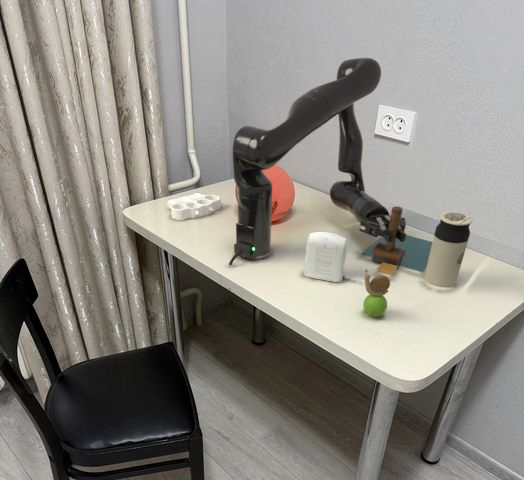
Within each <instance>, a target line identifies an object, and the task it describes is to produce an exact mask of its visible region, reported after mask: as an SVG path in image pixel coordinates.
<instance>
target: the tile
mask: <svg viewBox="0 0 524 480" xmlns="http://www.w3.org/2000/svg"><path fill="white" fill-rule="evenodd" d="M432 242H433V241H431V240H427V239H424V238H419V237H416V236H412V235H408V234H406V238H405V241H404V242H401V241H400V240H399V239H396V244H395V247H396V248H400V249H404V250H406V251H405V255H404V256H403V258H402V262H401V263H400V264H399V265H398V267H402V268H406V269H409V270H412V271H416V272H420V273H425V271H426V267H427V263H428V259H429V255H430V251H431V246H432ZM378 243H382V244H385V243H386V240H385V239H384V238H381V237H379V238H378V239H377V240H376V241H374V242H373V243H372V244H370V246H369V247H367V248H366V249H365V250H364V251H363V252H362V253H361V255H363V256H366V257H369V258H371V259H373V254H372V251H373V248H374V247H375V246H376V245H377V244H378Z"/></svg>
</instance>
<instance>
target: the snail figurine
mask: <svg viewBox="0 0 524 480" xmlns="http://www.w3.org/2000/svg"><path fill="white" fill-rule="evenodd" d="M364 272H365V273H364V275H363V279H364V288H365V291H366V293H368V295H367V296H366V297H365V298H364V300H363V304H362V306H363V310H364V312H365V313H366V314H367V315H368V316H370V317H379V316H381V315H383V314H385V312H386V310H387V309H388V300H387V298H386V297H385V295H386V294H387V293H389V290H388V289H390V286H391V280H390V278H389V277H388V276H387V275H385V274H384V275H383V274H379V275H376V276H375V277H373V278H371V274H370V273H369V269H367V268H364ZM370 279H371V280H370Z"/></svg>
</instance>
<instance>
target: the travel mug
mask: <svg viewBox="0 0 524 480" xmlns="http://www.w3.org/2000/svg"><path fill="white" fill-rule="evenodd" d="M439 219H440V220H439V223H438V224H437V225H436V226H435V231H434V235H433V238H432V241H431V242H432V246H431V251H430V255H429V259H428V263H427V267H426V269H425V270H424V275H423V279H424V281H425V282H426V283H427V284H429V285H430V286H434V287H438V288H450V287H451V288H452V287H454V286H455V285H456V284H457V280H458V276H459V274H460V270H461V266H462V263H463V259H464V256H465V252H466V249H467V245H468V242H469V238H470V235H471V229H470V226H471V224H472V223H473V218H472V217H471V216H470V215H468V214H467V213H463V212H459V211H444V212H442V213H441V214H439Z"/></svg>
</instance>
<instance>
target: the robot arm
mask: <svg viewBox="0 0 524 480" xmlns="http://www.w3.org/2000/svg"><path fill="white" fill-rule="evenodd" d="M381 68H382V67H381V65H380V63H379V62H378V61H377V60H376V59H374V58H371V57H359V58H358V57H357V58H349V59H346V60H343V61H342V62H341V63H340V65H339V66H338V69H337V72H336V79H335V80H333V81H329V82H326V83H322V84H320V85H317V86H315V87H313V88H311V89H310V90H308V91H306V92H305V93H303V94H302V95H300V96H299V97H298V98H296V99H295V100H294V101H293V102H292V104H291V106H290V108H289V110H288V113H287V118H286V119H285V120H284V121H283V122H281V124H278V125H277V126H276V127H274V128H272V129H264V128H260V127H256V126H251V125H244V126H241V127H240V128H239V129H238V130H237V131H236V133H235V136H234V138H233V141H232V166H233V179H234V183H235V186H236V189H237V191H236V192H237V222H236V223H235V241H236V243H234V244H233V245H234V246H233V253H234V255H233V257H232V258H230V260H229V262H228V265H229V266H232V265H233V263H234V261H235V260H236V258H237V257H242V258H245V259H248V260H250V261H253V262H254V261H255V260H256V261H257V260H261V259H265V258H268V257H269V256H270V255H271V254H272V217H273V216H272V213H273V183H272V181H271V179H269V178H268V177H267V176H266V174H265V173H264V171H267V170H269V169H271V168H273V167H274V166H275V165H276V164H278V163H279V162H280V161H281V160H282V159H283V158H284V157H285V156H286V155H288V153H289V152H290V151H291V150H293V149H294V148H295V147H296V146H298V144H300V143H301V142H302V141H304V140H305V139H307V137H309V136H310V135H312V134H313V133H314V132H316V131H318V130H319V129H320V128H322V127H323V126H324V125H326V124H327V123H328V122H329V121H330V120H332V119H333V118H335V117H336V116H337V115H338V126H339V127H338V128H339V142H338V143H339V145H338V157H337V170H338V171H339V172H340V173H344V174H348V175H349V176H350V180H338V181H335V182H334V183H333V184H332V185H331V187H330V189H329V198H330V200H331V203H332V204H333V205H334V206H336V207H338V208H340V209H342V210H344V211H347V212H349V213H350V214H351V215H352V216H353V217H354V218H355V220H356V221H357V222H358V223H359V229H358V231H359V232H361V233H363V234H364V235H365V234H366V235H367V236H370V237H372V238H378V237H379V238H384V239H385V240H386V241H388V242H389V243H393V241H394V234H392V233H391V232H390V231H389V230H388V228H389V222H390V217H391V214H390V212H389V211H388V209H387V208H386V207H385V206H384V205H382V204H381V203H380V201H378V200H376V199H375V198H374V197H372V196H371V195H369V194H368V193H367V192H366V189H365V188H366V187H365V183H364V177H363V169H362V161H363V152H364V151H363V150H364V141H363V136H362V132H361V130H360V127H359V123H358V121H357V117H356V113H355V103H357V102H358V101H360V100H362V99H364V98H365V97H368V96H369V95H371V94H372V93H373V92H374V91H375V90H377V88H378V86H379V84H380V82H381V78H382V69H381ZM406 227H407V224H406V218H405V217H401V220H400V225H399V230H398V234H397V239H399V240H400V241H401V242H404V241H405V238H406V235H407V233H406V232H405V231H406Z"/></svg>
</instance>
